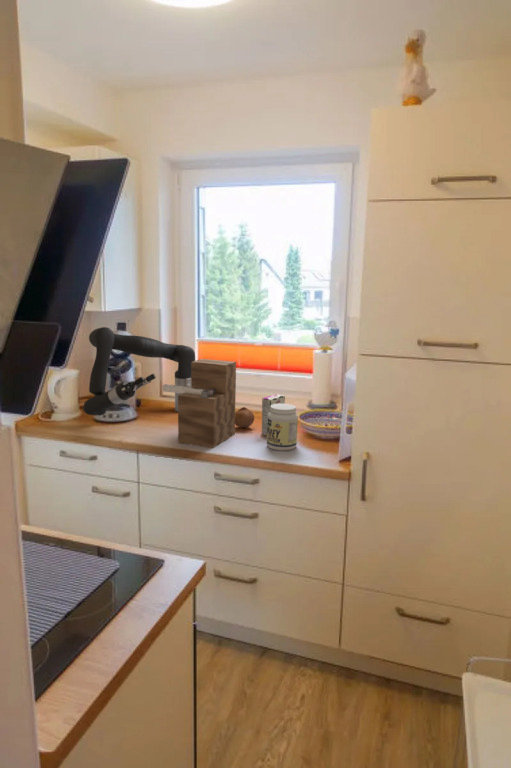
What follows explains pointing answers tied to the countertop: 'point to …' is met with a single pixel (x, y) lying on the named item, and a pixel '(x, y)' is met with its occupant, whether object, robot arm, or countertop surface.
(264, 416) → the candy bar box
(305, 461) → the countertop surface
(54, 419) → the countertop surface
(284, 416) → the supplement tub
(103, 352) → the robot arm
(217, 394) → the brown wooden stepped block
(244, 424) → the onion
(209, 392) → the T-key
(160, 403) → the countertop surface
